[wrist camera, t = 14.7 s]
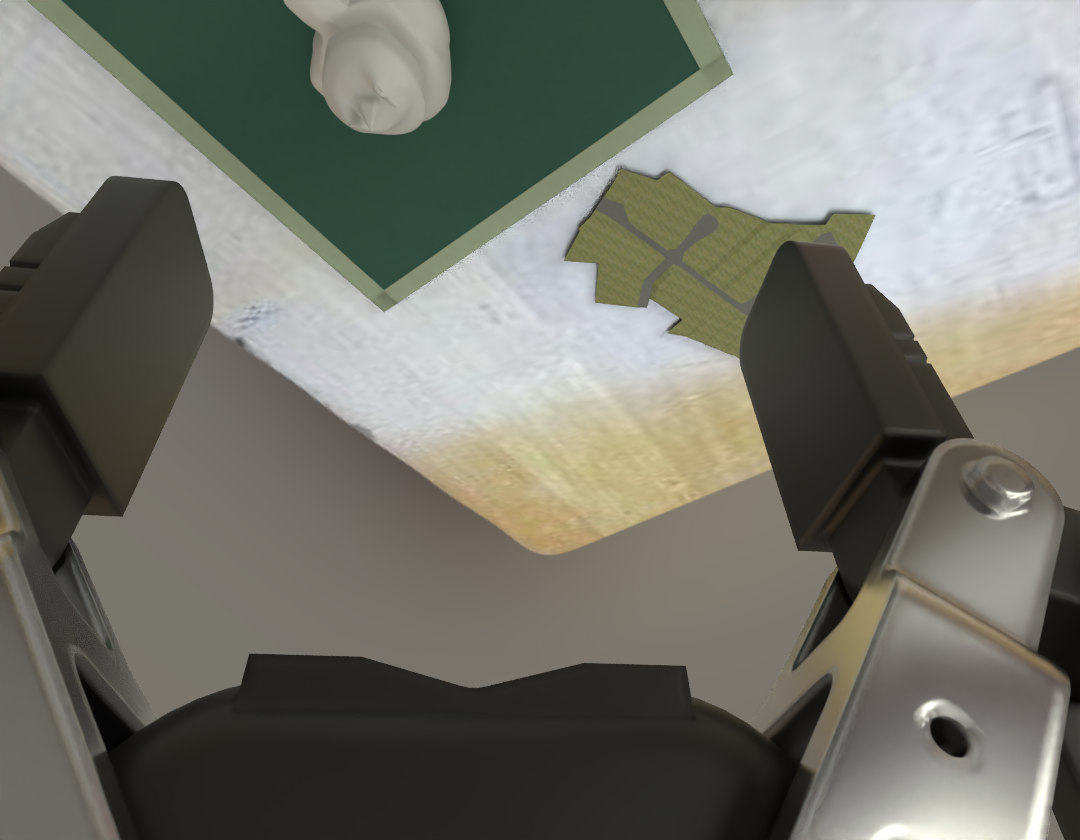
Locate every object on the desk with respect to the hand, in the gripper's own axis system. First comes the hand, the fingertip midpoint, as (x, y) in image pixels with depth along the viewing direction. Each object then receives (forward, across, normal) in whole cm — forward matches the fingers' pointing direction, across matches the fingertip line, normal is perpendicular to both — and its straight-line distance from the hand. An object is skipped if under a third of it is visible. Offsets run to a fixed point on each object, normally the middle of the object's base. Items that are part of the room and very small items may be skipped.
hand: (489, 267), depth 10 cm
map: (+21, -14, +14) cm, 29 cm away
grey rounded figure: (+21, +4, +4) cm, 22 cm away
